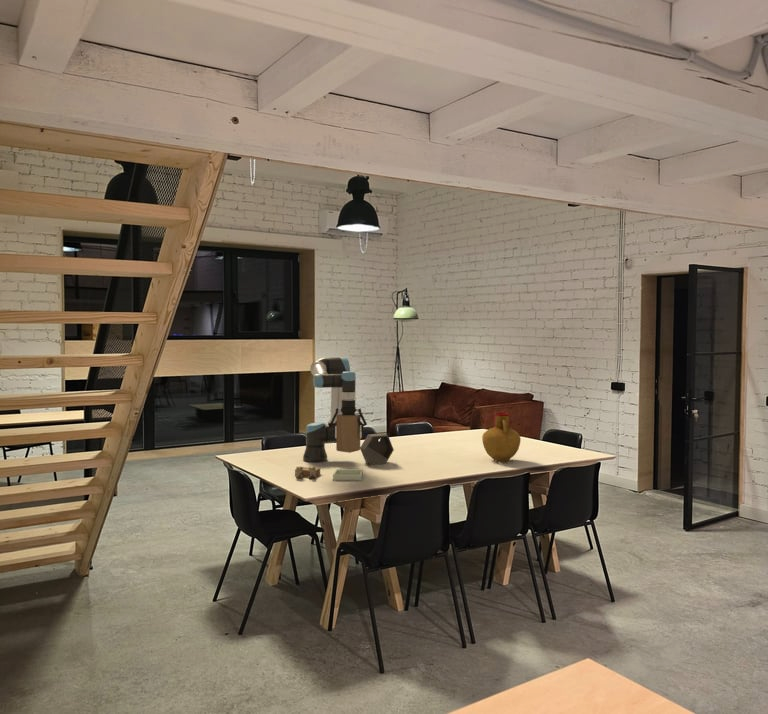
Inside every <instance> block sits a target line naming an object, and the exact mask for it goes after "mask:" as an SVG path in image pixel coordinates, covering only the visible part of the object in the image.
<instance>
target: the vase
mask: <svg viewBox="0 0 768 714" xmlns="http://www.w3.org/2000/svg"><path fill="white" fill-rule="evenodd" d="M509 416H510V413H508V412H494V427H490V428H489V429H488V430H486V431H485V432H483V434H482V440H481V441H482V445H483V448H484V450H485V452H486V454H487V455H488V456H489V457H490V458H491V459H492V460H493V461H495V462H498V463H499V462H500V463H506V462H509V460H510V459H512V458H514V456H515V455H516V454H517V453H518V451H519V448H520V445H521V435H520V434H519V433H518V432H517V431H516V430H515V429H512V428H511V427H509V422H510V421H509V418H510V417H509Z"/></svg>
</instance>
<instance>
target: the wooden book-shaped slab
mask: <svg viewBox="0 0 768 714" xmlns="http://www.w3.org/2000/svg"><path fill="white" fill-rule="evenodd" d="M302 467H303V478H305V477H306V478H309V467H310V466H309V467H307V466H302ZM320 475H321V467H316V473H315V478H317V477H319V476H320ZM294 476H295V477H296V468H295V469H294Z"/></svg>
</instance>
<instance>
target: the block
mask: <svg viewBox="0 0 768 714" xmlns="http://www.w3.org/2000/svg"><path fill="white" fill-rule="evenodd" d="M357 418H358V419H359V420H360V421H362V419H361V417H360V414H356V413H355V415H342V414H341V415H337V437H336V443H335V444H336V446H335V449H336V450H335V451H336V452H342V453H354V452H357V451H361V449H360V447H361V439H360V426H361V425H360V424H359V423H358V421H357Z"/></svg>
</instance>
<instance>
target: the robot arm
mask: <svg viewBox="0 0 768 714" xmlns="http://www.w3.org/2000/svg"><path fill="white" fill-rule="evenodd" d="M309 370H310V373H311V375H312V376H313V379H312V380H313V387H314V388H319V389H321V388H322V389H323V388H327V389H328V388H331V389H330V391H331V392H330V418H329V420H328V422H327V423H328V424H326V423H325V422H324V421H317V422H312V423H309V424H307V425H306V428H305V449H304V453H303V455H302V460H303V461H304V462H309V463H318V462H319V463H321V462H326V461H328V454H327V451H326V448H325V447H326V445H325V444H334V443H335V444H336V437H337V415H341V414H342V415H355V414H356V413H358V415H360V417H361V420H359V419H358V418H357V421H358V423H359V424H360V440H361V439H362V435H363V434H362V433H364V427H365V426H368V423H367V420H366V419H365V417H364V415H363V413H362V408H356V384H357V381H356V380H357V376H356V372H355V371H351V366H350V360H349V359H348V358H346V357H340V356H339V357H321V358H317V359H315V360H314V361H313V362H312V363H311V365H310V369H309Z"/></svg>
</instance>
